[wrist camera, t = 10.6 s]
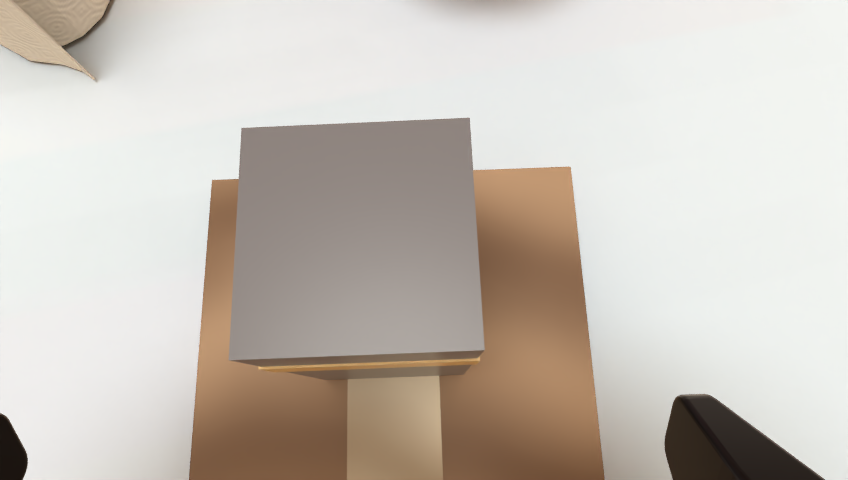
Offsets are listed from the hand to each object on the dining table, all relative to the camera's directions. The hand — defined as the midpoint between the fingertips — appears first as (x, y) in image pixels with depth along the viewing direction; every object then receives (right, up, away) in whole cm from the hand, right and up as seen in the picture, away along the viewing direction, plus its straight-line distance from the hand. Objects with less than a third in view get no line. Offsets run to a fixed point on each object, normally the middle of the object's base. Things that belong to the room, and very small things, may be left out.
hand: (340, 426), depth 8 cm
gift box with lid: (0, 0, +12) cm, 12 cm away
